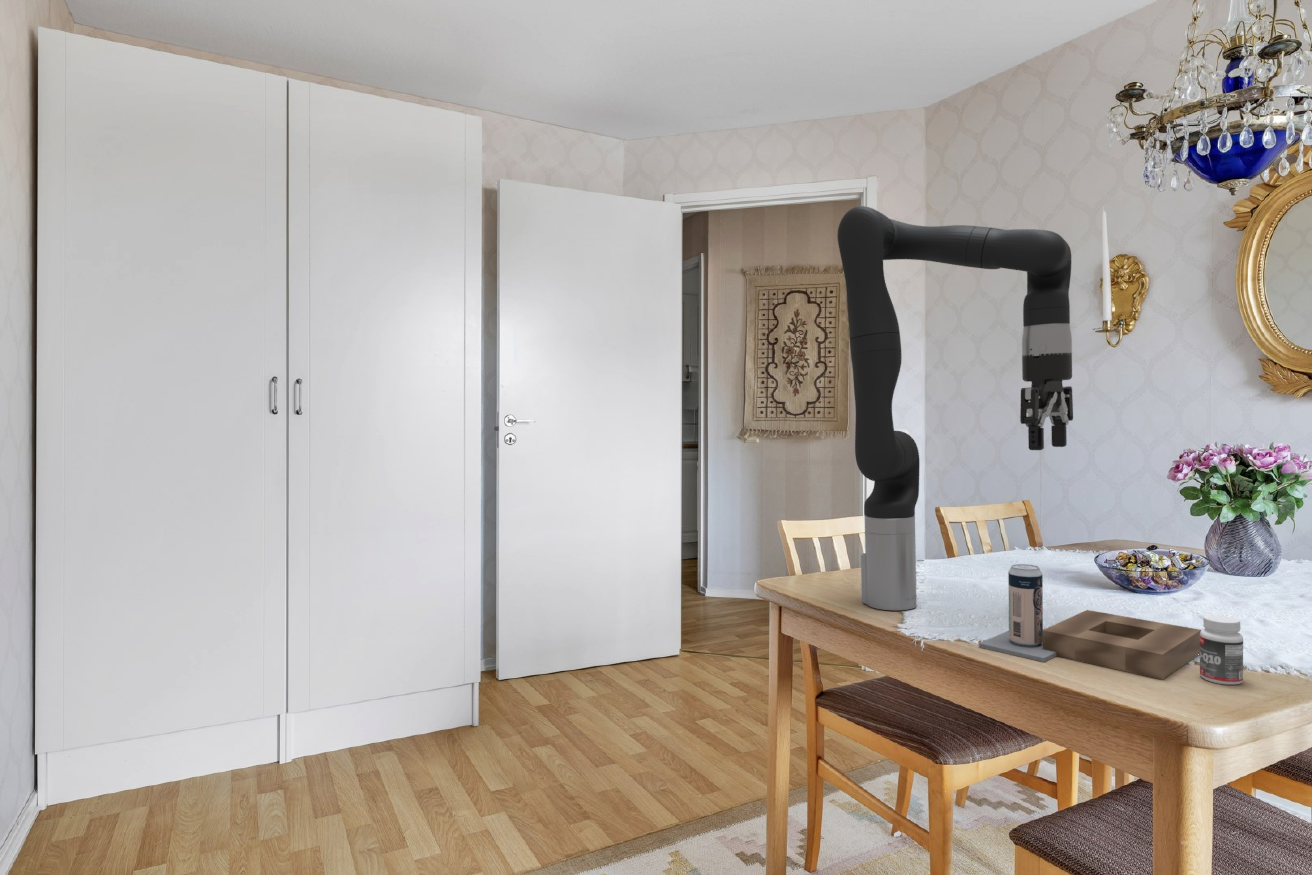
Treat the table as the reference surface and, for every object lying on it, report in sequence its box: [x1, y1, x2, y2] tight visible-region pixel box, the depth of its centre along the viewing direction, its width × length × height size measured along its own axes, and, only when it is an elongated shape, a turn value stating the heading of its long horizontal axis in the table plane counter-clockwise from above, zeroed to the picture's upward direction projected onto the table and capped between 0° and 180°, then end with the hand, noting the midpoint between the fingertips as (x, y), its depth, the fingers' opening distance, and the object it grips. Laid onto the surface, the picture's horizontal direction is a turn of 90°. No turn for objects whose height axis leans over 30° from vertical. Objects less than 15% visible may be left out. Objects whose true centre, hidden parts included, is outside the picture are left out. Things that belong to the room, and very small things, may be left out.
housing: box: [1043, 609, 1202, 681], centre depth 116 cm, size 16×16×4 cm
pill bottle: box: [1199, 614, 1244, 686], centre depth 104 cm, size 5×5×8 cm
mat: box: [978, 630, 1057, 663], centre depth 120 cm, size 10×10×1 cm
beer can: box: [1007, 563, 1044, 646], centre depth 120 cm, size 5×5×12 cm
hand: (1047, 448), depth 131 cm, fingers open, 8 cm apart
